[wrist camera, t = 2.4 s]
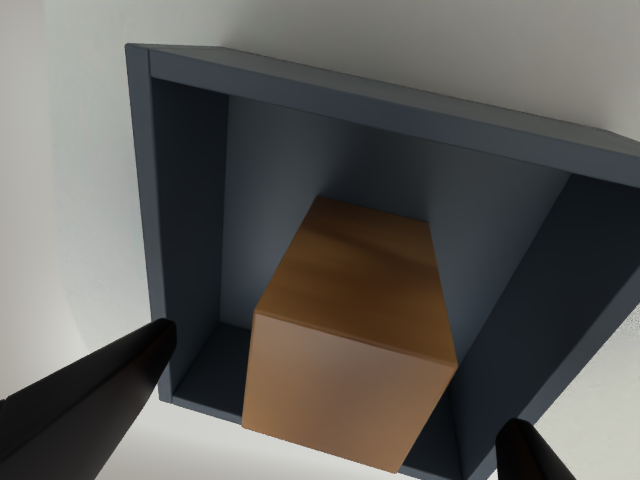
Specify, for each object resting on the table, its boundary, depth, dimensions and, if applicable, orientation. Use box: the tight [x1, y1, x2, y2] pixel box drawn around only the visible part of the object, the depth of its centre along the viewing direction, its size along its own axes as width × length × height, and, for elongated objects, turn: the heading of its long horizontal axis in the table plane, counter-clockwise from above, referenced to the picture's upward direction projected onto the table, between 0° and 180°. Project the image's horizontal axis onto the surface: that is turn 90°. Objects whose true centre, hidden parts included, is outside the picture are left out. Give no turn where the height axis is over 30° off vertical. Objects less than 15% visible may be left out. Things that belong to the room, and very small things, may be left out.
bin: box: [125, 43, 640, 480], centre depth 13 cm, size 13×13×5 cm
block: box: [241, 196, 458, 474], centre depth 11 cm, size 4×4×7 cm
